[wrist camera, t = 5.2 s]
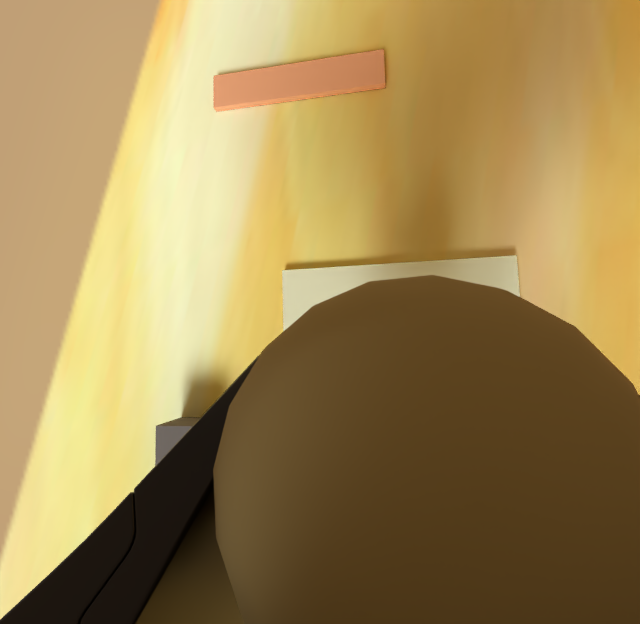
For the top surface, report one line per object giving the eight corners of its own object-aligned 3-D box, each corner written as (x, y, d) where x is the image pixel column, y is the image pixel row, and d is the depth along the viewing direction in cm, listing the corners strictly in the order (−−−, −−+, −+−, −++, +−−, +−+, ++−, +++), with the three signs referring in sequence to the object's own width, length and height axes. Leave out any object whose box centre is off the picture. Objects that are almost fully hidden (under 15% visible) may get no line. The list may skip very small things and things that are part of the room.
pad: (533, 504, 19) (536, 507, 18) (288, 495, 21) (286, 498, 20) (514, 257, 20) (516, 255, 19) (284, 271, 22) (282, 270, 21)
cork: (338, 498, 14) (176, 968, 3) (301, 335, 15) (77, 291, 4) (510, 467, 13) (1037, 961, 2) (461, 295, 14) (695, 112, 3)
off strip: (385, 87, 22) (385, 83, 21) (216, 111, 24) (213, 107, 23) (383, 54, 22) (383, 48, 22) (216, 80, 24) (213, 75, 23)
